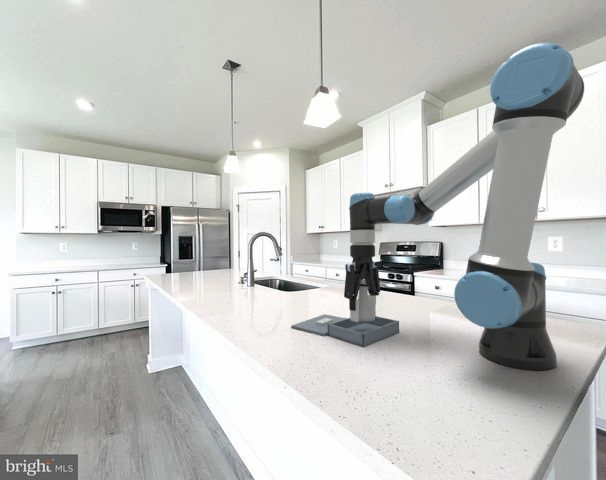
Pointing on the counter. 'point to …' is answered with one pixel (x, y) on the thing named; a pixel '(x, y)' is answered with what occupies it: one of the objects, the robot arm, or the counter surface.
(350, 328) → the bin
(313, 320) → the bin lid
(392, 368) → the counter surface
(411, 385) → the counter surface
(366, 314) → the flask
